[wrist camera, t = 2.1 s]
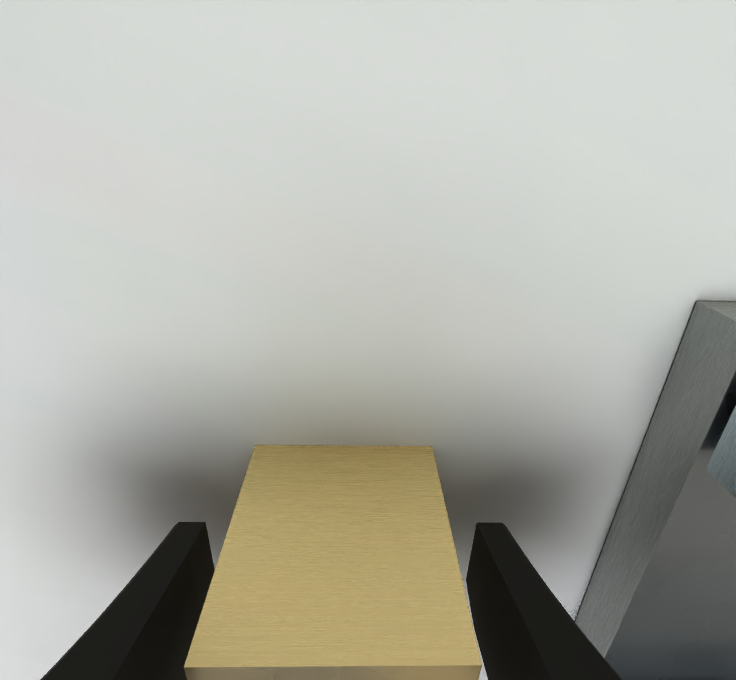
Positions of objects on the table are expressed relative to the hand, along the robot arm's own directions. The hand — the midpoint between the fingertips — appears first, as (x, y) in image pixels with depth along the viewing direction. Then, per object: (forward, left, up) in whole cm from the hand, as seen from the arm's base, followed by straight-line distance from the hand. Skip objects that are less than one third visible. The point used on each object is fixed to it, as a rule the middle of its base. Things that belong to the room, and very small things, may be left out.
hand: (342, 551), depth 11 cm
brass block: (0, 0, -2) cm, 2 cm away
